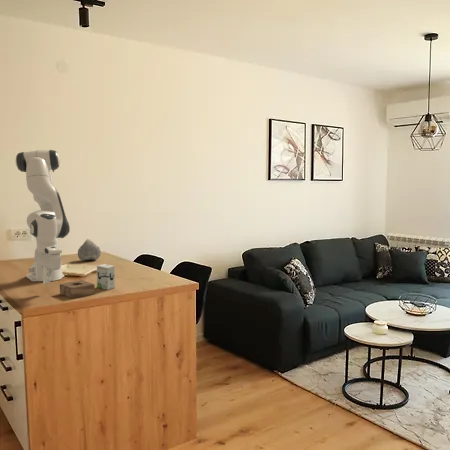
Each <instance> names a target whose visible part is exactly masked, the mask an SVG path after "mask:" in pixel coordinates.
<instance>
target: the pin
mask: <svg viewBox="0 0 450 450" xmlns="http://www.w3.org/2000/svg"><path fill="white" fill-rule="evenodd" d="M47 272H48V268H47V267H45V266H43V281H42V284H43V285H49V284H51V281H50V276H49V277H48V276H47Z"/></svg>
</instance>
